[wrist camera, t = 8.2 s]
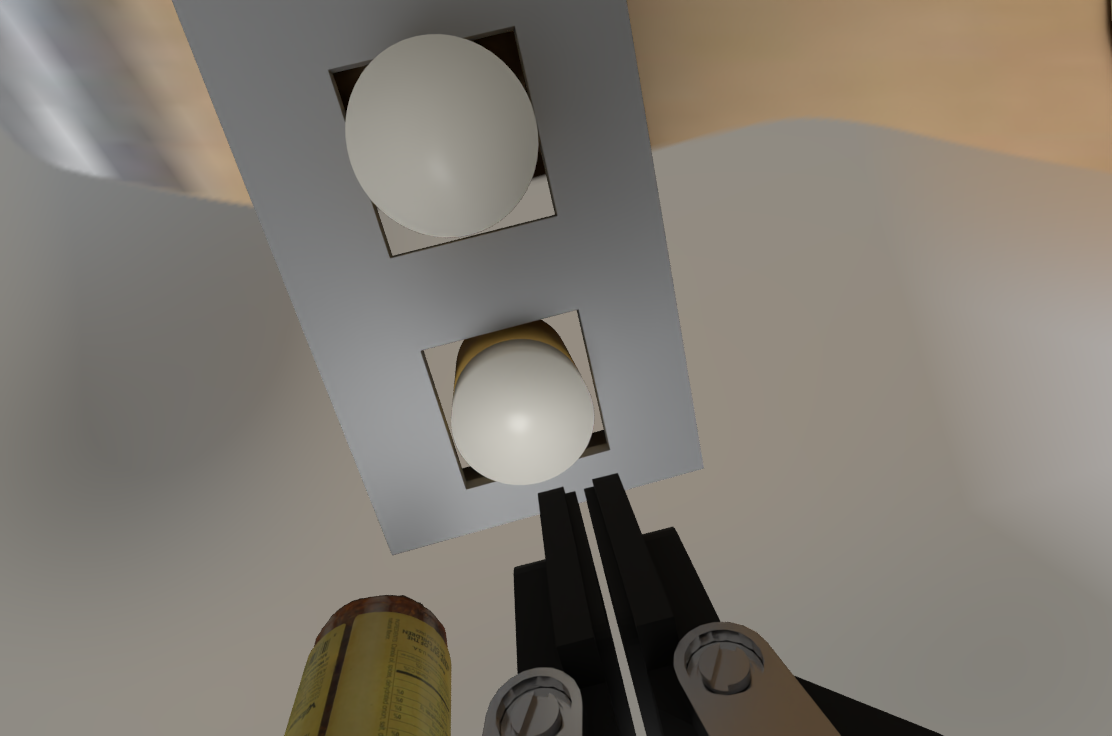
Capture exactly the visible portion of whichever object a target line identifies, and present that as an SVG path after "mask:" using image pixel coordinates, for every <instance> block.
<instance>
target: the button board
mask: <svg viewBox="0 0 1112 736" xmlns="http://www.w3.org/2000/svg"><path fill="white" fill-rule="evenodd" d="M172 2H173V5H174V7H175V10H176V12H177V15H178V17H179V20H180V22H181V25H182V27H183V30H184V32H185V35H186V37H187V40H188V42H189V45H190V47H191V50H192V52H193V55H194V58H195V60H196V63H197V65H198V68H199V70H200V73H201V75H202V78H203V80H204V83H205V85H206V88H207V90H208V93H209V95H210V98H211V100H212V103H213V105H214V108H215V110H216V113H217V115H218V118H219V120H220V123H221V126H222V128H223V131H224V133H225V136H226V138H227V141H228V143H229V146H230V148H231V151H232V153H233V156H234V158H235V161H236V163H237V166H238V168H239V171H240V173H241V176H242V178H243V181H244V183H245V186H246V188H247V191H248V194H249V196H250V199H251V201H252V204H253V206H254V209H255V211H256V213H257V216H258V219H259V221H260V224H261V226H262V229H263V231H264V233H265V236H266V239H267V241H268V244H269V246H270V249H271V251H272V254H273V256H274V259H275V261H276V264H277V266H278V269H279V272H280V274H281V277H282V279H283V282H284V284H285V287H286V289H287V292H288V294H289V296H290V299H291V302H292V304H293V307H294V309H295V312H296V314H297V317H298V319H299V322H300V324H301V327H302V330H303V332H304V334H305V337H306V340H307V342H308V345H309V347H310V350H311V352H312V354H313V357H314V360H315V362H316V364H317V367H318V370H319V372H320V375H321V377H322V380H323V382H324V385H325V387H326V389H327V392H328V395H329V397H330V400H331V403H332V405H333V408H334V410H335V413H336V415H337V417H338V420H339V422H340V425H341V428H342V430H343V433H344V435H345V438H346V440H347V443H348V445H349V448H350V450H351V453H352V455H353V458H354V460H355V463H356V465H357V468H358V471H359V473H360V475H361V478H362V481H363V483H364V486H365V488H366V491H367V493H368V496H369V498H370V501H371V503H372V506H373V508H374V511H375V513H376V516H377V518H378V521H379V523H380V526H381V528H382V531H383V533H384V536H385V539H386V541H387V544H388V546H389V548H390V551H391V553H392V555H395V554H399V553H402V552H406V551H410V550H413V549H417V548H420V547H424V546H427V545H431V544H435V543H438V542H442V541H445V540H449V539H452V538H456V537H460V536H463V535H467V534H470V533H474V532H478V531H481V530H485V529H488V528H492V527H496V526H499V525H503V524H506V523H510V522H513V521H517V520H521V519H524V518H527V517H531V516H535V515H538V514H540V510H539V502H538V493H540V492H544V491H548V490H552V489H556V488H560V487H564V490H565V493H569V492H573V491H575V492H576V495H577V499H578V503H582V502H585V501H587V500H586V496H585V492H584V489H585V488H589V487H593V482H592V479H595V478H599V477H603V476H607V475H611V474H615V473H618V474H619V477H620V479H621V482H622V484H623V487H624V490H628V489H632V488H635V487H639V486H642V485H646V484H649V483H653V482H657V481H660V480H664V479H667V478H671V477H675V476H678V475H682V474H685V473H689V472H693V471H696V470H699V469H703V468H704V467H703V461H702V455H701V448H700V442H699V437H698V431H697V424H696V418H695V413H694V406H693V400H692V394H691V388H690V382H689V376H688V370H687V364H686V358H685V352H684V346H683V340H682V333H681V327H680V321H679V316H678V309H677V303H676V298H675V291H674V285H673V279H672V274H671V267H670V261H669V255H668V250H667V244H666V237H665V231H664V225H663V219H662V212H661V207H660V200H659V195H658V188H657V182H656V176H655V170H654V164H653V158H652V152H651V146H650V140H649V134H648V128H647V122H646V116H645V110H644V104H643V98H642V92H641V86H640V79H639V73H638V67H637V61H636V55H635V49H634V43H633V37H632V31H631V25H630V19H629V13H628V7H627V1H626V0H172ZM509 31H514V35H515V39H516V44H517V48H518V52H519V57H520V61H521V66H522V70H523V75H524V79H525V83H526V88H527V92H528V97H529V100H530V102H531V105H532V108H533V111H534V114H535V118H536V123H537V130H538V141H539V145H540V150H541V154H542V159H543V163H544V167H545V172H546V176H547V181H548V185H549V189H550V194H551V198H552V203H553V207H554V211H555V215H552V216H549V217H545V218H541V219H537V220H533V221H529V222H525V223H521V224H517V225H514V226H509V227H505V228H501V229H497V230H493V231H490V232H486V233H481V234H477V235H474V236H470V237H466V238H462V239H458V240H454V241H450V242H446V243H442V244H438V245H434V246H430V247H426V248H422V249H418V250H414V251H410V252H406V253H402V254H398V255H395V256H392V253H391V250H390V247H389V244H388V241H387V238H386V235H385V232H384V229H383V226H382V223H381V219H380V217H379V213H378V210H377V207H376V205H375V204H374V203H373V202H372V201H371V199H370V198H369V197H368V195H367V194H366V193H365V191H364V190H363V188H362V187H361V185H360V183H359V181H358V179H357V178H356V175H355V173H354V170H353V168H352V165H351V163H350V159H349V155H348V151H347V145H346V138H345V122H346V113H345V109H344V106H343V103H342V100H341V97H340V94H339V91H338V88H337V85H336V82H335V79H334V76H333V73H336V72H340V71H344V70H348V69H353V68H357V67H361V66H365V65H369V63H370V62H371V61H372V60H373V59H374V58H375V57H377V56H378V55H379V54H380V53H381V52H383V51H384V50H386V49H387V48H388V47H390V46H392V45H394V44H396V43H398V42H400V41H402V40H405V39H408V38H411V37H414V36H420V35H426V34H444V35H451V36H456V37H460V38H463V39H467V40H469V41H471V40H475V39H480V38H484V37H488V36H492V35H497V34H501V33H505V32H509ZM574 310H577V313H578V318H579V322H580V326H581V330H582V335H583V340H584V344H585V348H586V353H587V357H588V362H589V366H590V370H591V375H592V379H593V384H594V388H595V392H596V397H597V401H598V406H599V410H600V415H601V419H602V423H603V427H604V430H601V431H598V432H594V433H592V435H591V438H590V441H589V443H588V445H587V447H586V449H585V450H584V452H583V453H582V455H581V456H580V457H579V459H578V460H577V461H576V462H575V463H574V464H573V465H572V466H571V467H569V468H568V469H567V470H566V471H564V472H562V473H561V474H559V475H558V476H556V477H554V478H551V479H549V480H546V481H543V482H540V483H536V484H530V485H511V484H504V483H500V482H497V481H494V480H491V479H489V478H487V477H485V476H483V475H481V474H480V473H478V472H477V471H476V470H474V469H473V468H472V467H471V466H470V467H466V468H462V467H461V464H460V461H459V458H458V455H457V452H456V449H455V446H454V443H453V439H452V436H451V433H450V430H449V428H448V424H447V421H446V418H445V415H444V412H443V409H442V406H441V403H440V400H439V397H438V394H437V391H436V388H435V384H434V381H433V378H432V375H431V373H430V369H429V366H428V363H427V360H426V357H425V354H424V351H423V350H425V349H429V348H433V347H436V346H441V345H444V344H448V343H452V342H456V341H460V340H464V339H467V338H471V337H475V336H479V335H483V334H486V333H490V332H494V331H498V330H502V329H506V328H509V327H513V326H517V325H521V324H525V323H528V322H532V321H536V320H540V319H544V318H548V317H551V316H555V315H559V314H563V313H566V312H570V311H574Z"/></svg>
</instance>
